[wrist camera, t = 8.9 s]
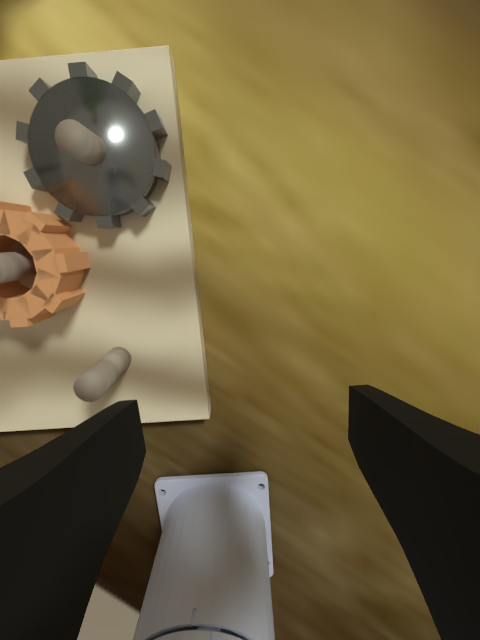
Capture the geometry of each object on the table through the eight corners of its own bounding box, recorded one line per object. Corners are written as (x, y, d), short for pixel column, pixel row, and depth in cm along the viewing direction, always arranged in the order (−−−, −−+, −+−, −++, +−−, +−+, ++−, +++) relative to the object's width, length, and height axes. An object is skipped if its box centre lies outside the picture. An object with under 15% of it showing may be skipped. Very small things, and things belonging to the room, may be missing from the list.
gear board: (211, 408, 21) (201, 462, 16) (-50, 425, 21) (-140, 482, 16) (173, 59, 16) (142, -24, 11) (-168, 89, 16) (-351, 22, 11)
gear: (178, 223, 17) (174, 222, 16) (51, 233, 17) (36, 232, 16) (160, 69, 15) (153, 55, 14) (18, 82, 15) (-1, 69, 14)
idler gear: (99, 312, 18) (78, 322, 16) (-3, 319, 18) (-38, 330, 16) (78, 202, 16) (51, 196, 14) (-33, 211, 17) (-77, 206, 14)
